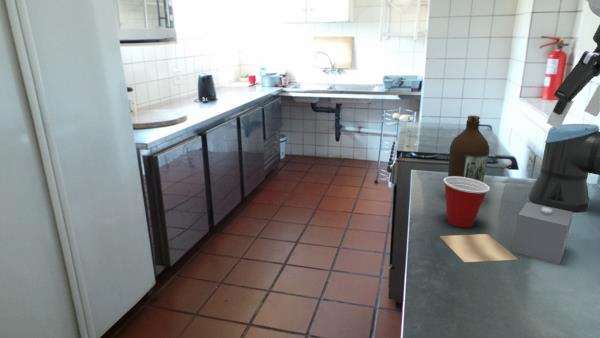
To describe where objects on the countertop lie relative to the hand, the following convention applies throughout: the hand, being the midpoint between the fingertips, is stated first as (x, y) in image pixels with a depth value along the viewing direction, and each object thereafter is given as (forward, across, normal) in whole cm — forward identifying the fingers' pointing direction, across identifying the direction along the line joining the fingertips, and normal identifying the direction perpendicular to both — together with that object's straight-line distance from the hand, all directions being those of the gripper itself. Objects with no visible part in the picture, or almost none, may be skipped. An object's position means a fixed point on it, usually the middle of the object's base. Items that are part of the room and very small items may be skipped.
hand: (572, 119), depth 92 cm
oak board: (+24, -27, -7) cm, 37 cm away
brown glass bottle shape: (+36, -4, +15) cm, 39 cm away
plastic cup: (+29, -19, +3) cm, 35 cm away
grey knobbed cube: (+23, -16, -14) cm, 31 cm away
